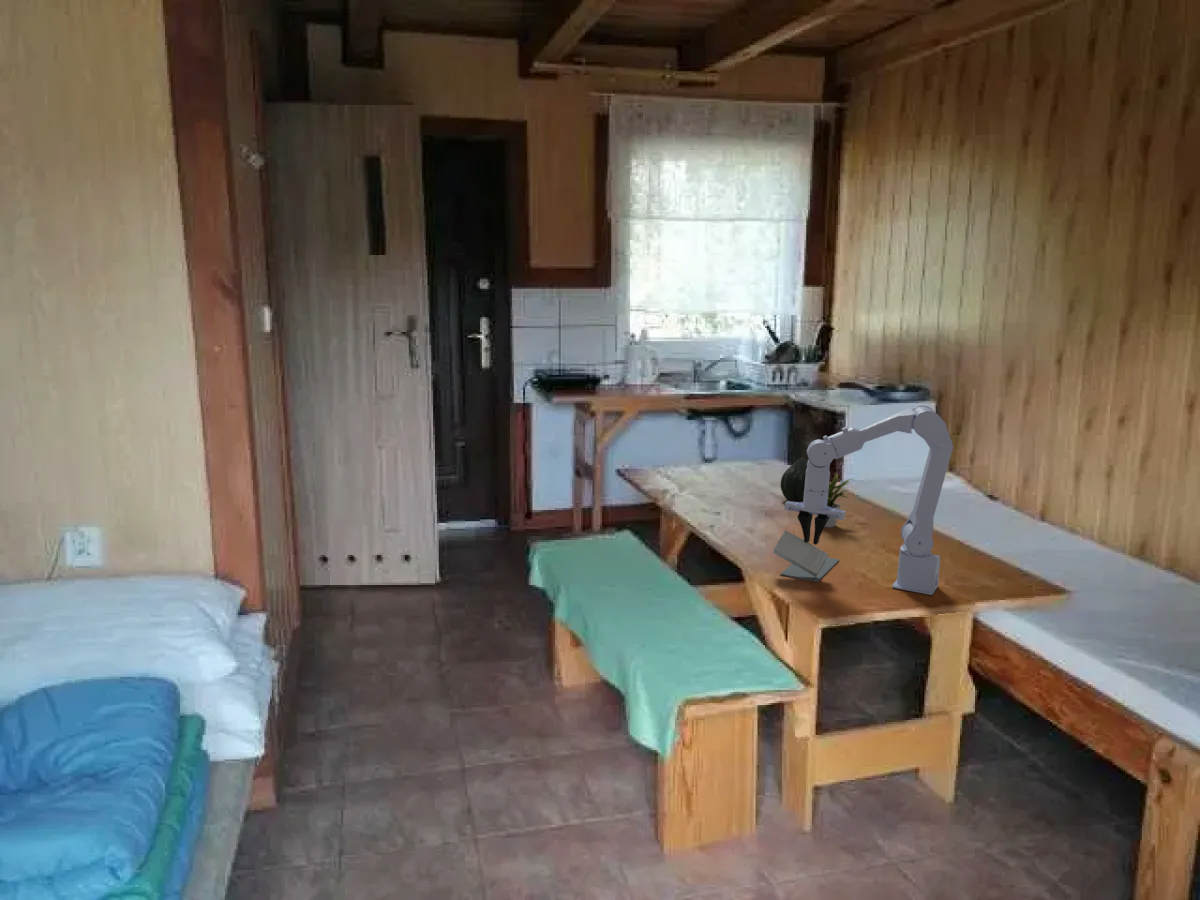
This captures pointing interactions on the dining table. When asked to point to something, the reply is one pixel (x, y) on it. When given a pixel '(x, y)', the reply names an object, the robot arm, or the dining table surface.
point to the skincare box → (800, 553)
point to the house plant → (834, 498)
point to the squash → (794, 481)
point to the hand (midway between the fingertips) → (811, 542)
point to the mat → (801, 574)
